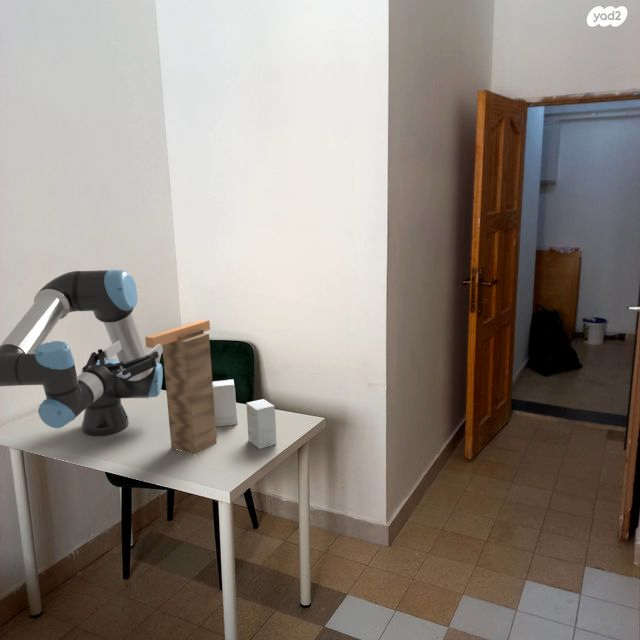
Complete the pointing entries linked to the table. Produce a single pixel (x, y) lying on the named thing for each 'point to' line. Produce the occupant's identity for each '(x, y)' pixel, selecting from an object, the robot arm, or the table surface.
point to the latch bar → (176, 333)
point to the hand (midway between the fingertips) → (140, 346)
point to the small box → (261, 423)
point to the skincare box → (224, 403)
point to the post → (190, 392)
